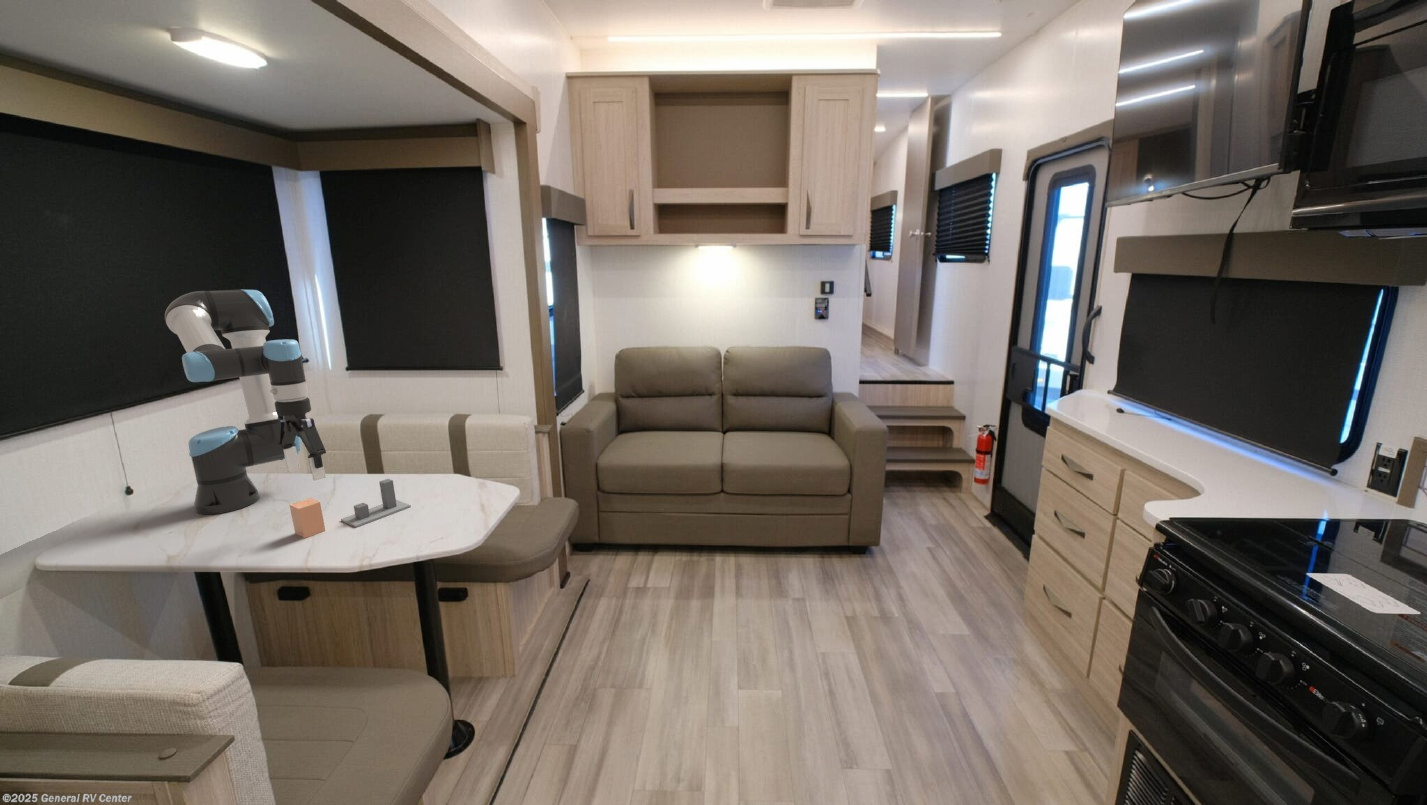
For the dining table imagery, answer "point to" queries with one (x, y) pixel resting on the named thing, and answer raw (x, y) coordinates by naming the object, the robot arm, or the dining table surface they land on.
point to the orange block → (307, 517)
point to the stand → (377, 507)
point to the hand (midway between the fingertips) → (306, 474)
